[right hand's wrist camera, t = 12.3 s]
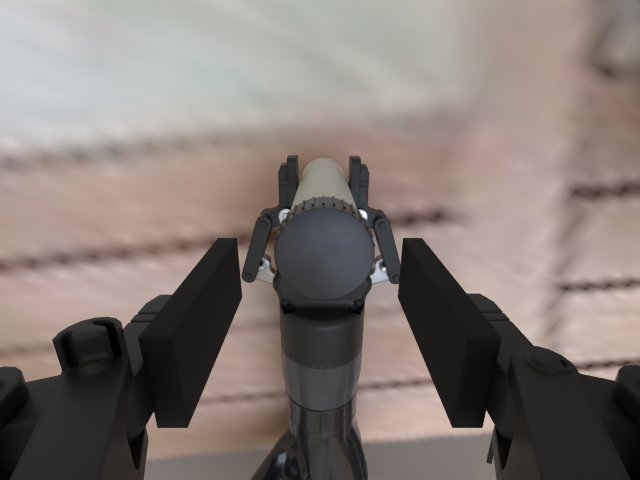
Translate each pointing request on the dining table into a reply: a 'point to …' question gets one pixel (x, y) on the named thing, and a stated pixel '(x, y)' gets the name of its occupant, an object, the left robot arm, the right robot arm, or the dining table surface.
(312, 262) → the lid
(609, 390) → the right robot arm
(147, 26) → the dining table surface
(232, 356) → the dining table surface
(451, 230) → the dining table surface
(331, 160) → the bottle
